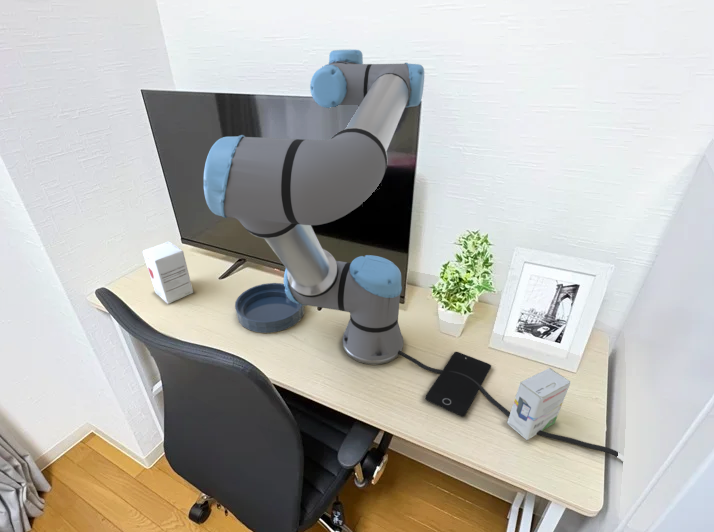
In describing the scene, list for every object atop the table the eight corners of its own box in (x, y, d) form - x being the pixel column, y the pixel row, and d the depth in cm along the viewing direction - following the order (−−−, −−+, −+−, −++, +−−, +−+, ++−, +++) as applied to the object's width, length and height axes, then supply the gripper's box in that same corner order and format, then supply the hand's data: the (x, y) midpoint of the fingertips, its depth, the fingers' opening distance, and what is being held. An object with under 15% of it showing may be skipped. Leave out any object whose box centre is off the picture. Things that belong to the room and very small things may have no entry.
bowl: (317, 308, 120) (317, 296, 118) (272, 343, 108) (270, 331, 105) (269, 287, 130) (268, 276, 128) (223, 317, 118) (220, 305, 115)
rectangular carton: (154, 292, 129) (140, 250, 121) (180, 282, 134) (169, 240, 126) (167, 304, 124) (154, 260, 115) (194, 293, 129) (183, 250, 120)
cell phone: (424, 399, 90) (424, 396, 90) (454, 353, 102) (455, 350, 101) (464, 418, 86) (464, 415, 85) (491, 367, 98) (492, 364, 97)
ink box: (526, 441, 81) (543, 400, 74) (505, 422, 85) (519, 381, 78) (555, 423, 84) (574, 382, 77) (534, 406, 88) (549, 365, 81)
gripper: (399, 127, 95) (392, 214, 107) (314, 117, 108) (317, 196, 120) (382, 133, 91) (377, 224, 102) (296, 122, 104) (300, 204, 115)
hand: (344, 209), depth 111 cm, fingers open, 13 cm apart
